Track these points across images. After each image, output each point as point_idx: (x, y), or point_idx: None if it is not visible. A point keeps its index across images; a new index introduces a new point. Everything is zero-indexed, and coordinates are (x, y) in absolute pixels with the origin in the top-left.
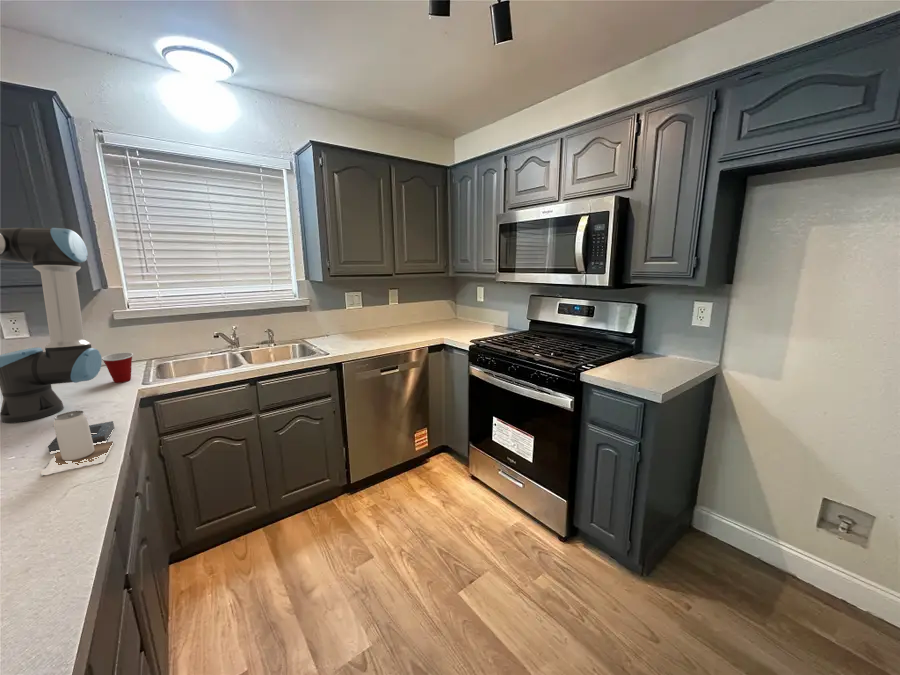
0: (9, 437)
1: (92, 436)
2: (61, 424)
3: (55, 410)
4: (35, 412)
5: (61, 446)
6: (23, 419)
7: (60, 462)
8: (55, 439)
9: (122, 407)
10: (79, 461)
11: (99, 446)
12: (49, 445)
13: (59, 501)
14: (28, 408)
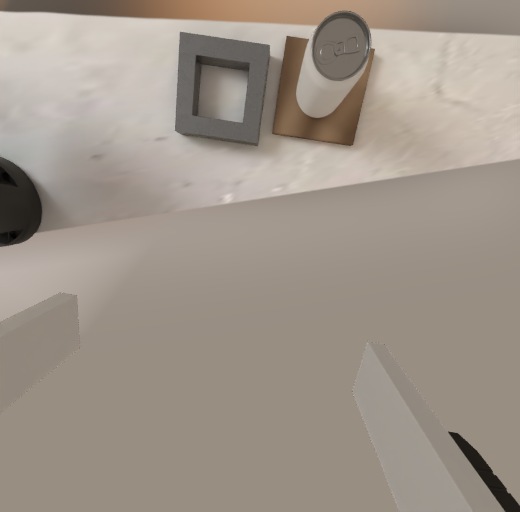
0: (119, 217)
1: (257, 68)
2: (364, 69)
3: (8, 163)
4: (22, 191)
5: (340, 102)
6: (37, 210)
7: (329, 120)
8: (224, 135)
9: (41, 31)
10: (350, 90)
11: (298, 60)
12: (252, 141)
13: (476, 108)
14: (11, 201)
